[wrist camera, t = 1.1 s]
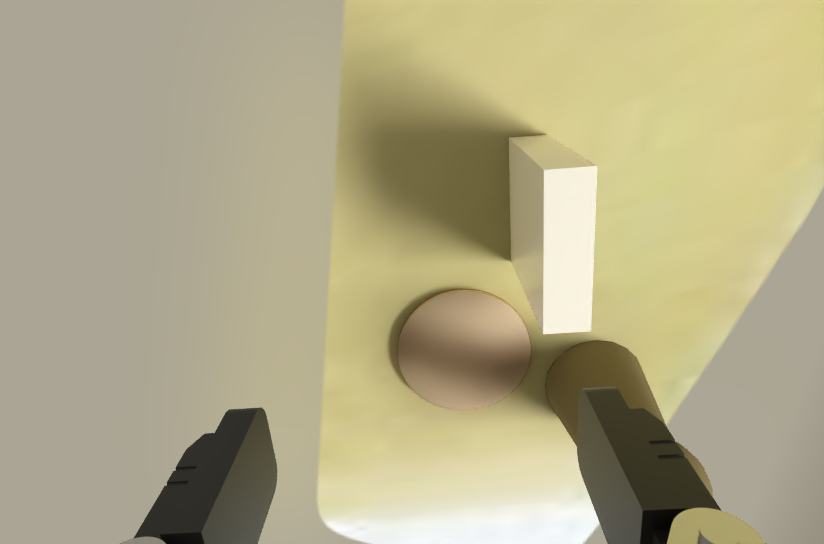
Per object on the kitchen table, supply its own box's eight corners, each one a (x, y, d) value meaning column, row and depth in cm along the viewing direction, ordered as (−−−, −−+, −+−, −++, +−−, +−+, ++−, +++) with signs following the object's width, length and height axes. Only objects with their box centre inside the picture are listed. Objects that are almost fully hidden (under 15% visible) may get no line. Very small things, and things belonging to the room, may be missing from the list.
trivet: (392, 294, 33) (391, 298, 32) (528, 284, 32) (530, 288, 32) (403, 408, 36) (403, 414, 35) (529, 401, 35) (531, 406, 35)
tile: (508, 137, 30) (543, 169, 21) (549, 134, 29) (601, 165, 21) (511, 261, 32) (543, 334, 24) (548, 258, 32) (594, 331, 24)
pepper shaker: (531, 411, 36) (576, 554, 25) (566, 329, 34) (630, 450, 23) (619, 433, 36) (698, 582, 26) (659, 354, 34) (762, 483, 24)
